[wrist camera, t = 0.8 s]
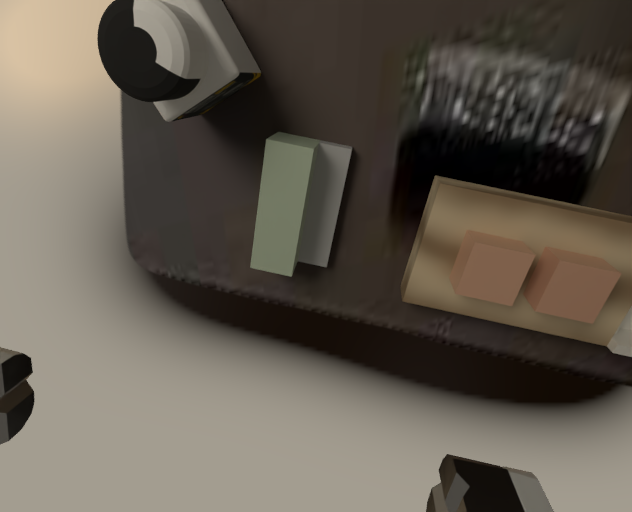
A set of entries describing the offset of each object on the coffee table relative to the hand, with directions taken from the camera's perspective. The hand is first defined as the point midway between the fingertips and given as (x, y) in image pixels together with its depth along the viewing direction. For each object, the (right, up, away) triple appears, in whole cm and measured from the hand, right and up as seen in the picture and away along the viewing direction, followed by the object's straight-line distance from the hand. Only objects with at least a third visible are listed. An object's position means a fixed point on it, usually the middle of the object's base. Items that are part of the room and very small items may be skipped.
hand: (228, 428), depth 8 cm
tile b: (+24, +1, +29) cm, 37 cm away
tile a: (+17, +3, +29) cm, 34 cm away
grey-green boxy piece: (+1, +9, +32) cm, 33 cm away
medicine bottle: (-8, +21, +28) cm, 36 cm away
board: (+21, +3, +31) cm, 38 cm away
